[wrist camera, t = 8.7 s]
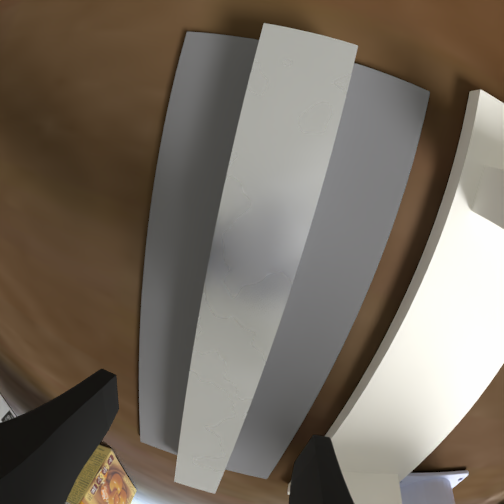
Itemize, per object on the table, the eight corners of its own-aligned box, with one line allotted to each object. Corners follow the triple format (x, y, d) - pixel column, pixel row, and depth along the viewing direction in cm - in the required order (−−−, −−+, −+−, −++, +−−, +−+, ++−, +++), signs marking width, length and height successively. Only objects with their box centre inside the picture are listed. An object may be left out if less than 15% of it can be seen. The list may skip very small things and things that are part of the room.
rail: (221, 468, 20) (214, 493, 18) (183, 457, 20) (174, 481, 18) (347, 62, 10) (357, 45, 8) (271, 43, 10) (263, 22, 8)
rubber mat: (267, 474, 20) (266, 478, 20) (142, 437, 21) (140, 441, 20) (426, 92, 10) (430, 91, 10) (190, 33, 11) (187, 31, 10)
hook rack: (375, 492, 20) (379, 553, 14) (288, 484, 20) (279, 552, 14) (572, 163, 9) (655, 190, 3) (469, 91, 10) (568, 76, 4)
